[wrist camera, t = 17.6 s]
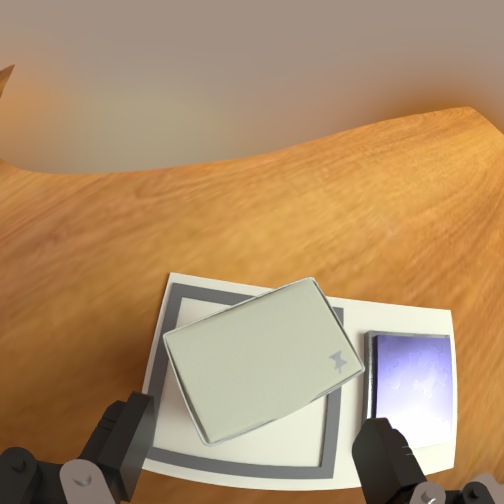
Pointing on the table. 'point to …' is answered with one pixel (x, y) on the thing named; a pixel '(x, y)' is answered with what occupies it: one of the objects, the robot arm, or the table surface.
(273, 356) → the skincare box
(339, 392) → the marked board
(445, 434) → the ink pad
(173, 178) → the table surface
